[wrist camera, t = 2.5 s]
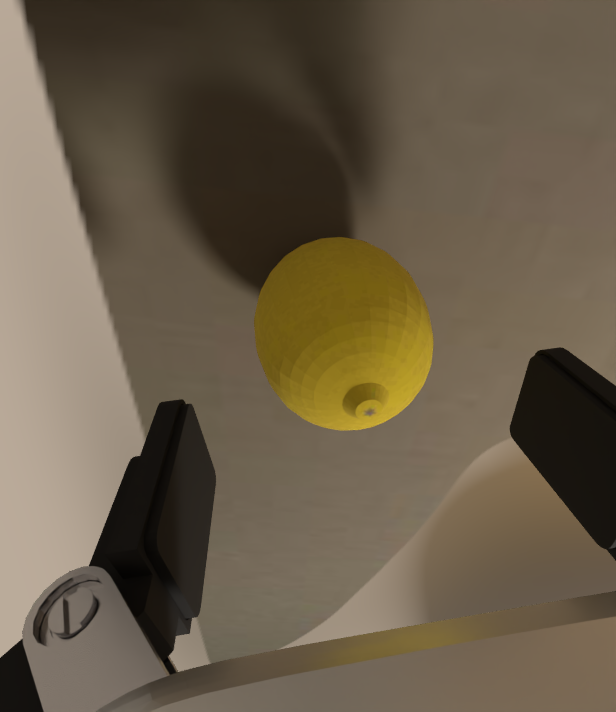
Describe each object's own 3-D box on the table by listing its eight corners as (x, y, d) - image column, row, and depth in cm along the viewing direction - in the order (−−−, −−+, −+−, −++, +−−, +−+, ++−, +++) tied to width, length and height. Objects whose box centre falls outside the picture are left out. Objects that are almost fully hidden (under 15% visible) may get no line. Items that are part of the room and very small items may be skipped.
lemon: (244, 324, 16) (237, 476, 10) (270, 194, 13) (285, 285, 7) (359, 344, 17) (422, 489, 11) (406, 230, 15) (529, 335, 8)
